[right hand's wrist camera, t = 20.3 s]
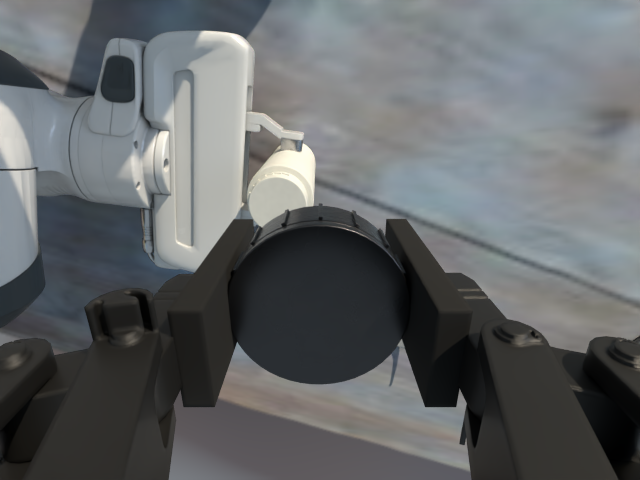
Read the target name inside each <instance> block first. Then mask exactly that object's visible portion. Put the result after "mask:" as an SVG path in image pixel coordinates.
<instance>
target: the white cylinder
mask: <svg viewBox="0 0 640 480" xmlns="http://www.w3.org/2000/svg"><path fill="white" fill-rule="evenodd" d="M280 147H281V145H280V146H279V147H278V148H277V149H276V150H275V151H274V153H273V154H272V155H271V156H270V157H269V159H268V160H267V161H266V162H265V163H264V165H263V166H262V167H261V168H260V170H259V171H258V172H257V173H256V174H255V176H254V177H253V178H252V180H251V181H250V183H249V186H248V189H247V204H248V210H249V212H250V215H251V217H252V219H253V220H254V221H255V223H256V224H257V225H258V226H261V227H263V226H264V225H265V224H267V223H268V222H269V221H271V220H272V219H274V218H275V217H277V216H279V215H281V214H283V213H284V212H285V210H287V209H289V211H291V210H294V209H298V208H302V207H310V206H313V203H314V182H315V158H314V155H313V153H312V151H311V150H310V149H309V148H308V147H307V146H306V145H305V144H303V146H302V151H301V152H296V151H293V150H292V149H290V150H281V149H280Z"/></svg>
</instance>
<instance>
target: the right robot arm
mask: <svg viewBox="0 0 640 480" xmlns="http://www.w3.org/2000/svg"><path fill="white" fill-rule="evenodd" d="M253 237H254V222H253V219H233V221H232V222H231V223H230V225H229V226H228V228H227V229H226V230H225V232H224V233H223V234H222V236H221V237H220V238H219V240H218V241H217V243H216V244H215V245H214V247H213V248H212V249H211V251H210V252H209V254H208V255H207V256H206V258H205V259H204V260H203V262H202V263H201V265H200V266H199V267H198V269H197V270H196V271H195V273H194V274H179V275H177V276H175V277H173V278H172V279H170V280H168V281H167V282H165V284H164V285H163V286H162V287H161V288H160V290H159V291H158V293H156V294H155V295H154V297H153V294H152V293H151V292H149V291H148V290H145V289H140V288H128V289H121V290H116V291H112V292H109V293H106V294H104V295H101V296H99V297H97V298H95V299H94V300H92V301H90V302H89V303H88V304H87V305H86V306H85V307H84V308H85V312H86V315H87V319H88V323H89V326H90V330H91V334H92V338H93V342H92V344H91V346H90V348H88V349H84V350H80V351H74V352H69V353H64V354H59V355H54V353H53V350H52V347H51V344H50V343H49V342H48V341H46V340H45V339H38V338H31V339H20V340H16V341H14V342H9V343H5V344H3V345H2V346H0V480H168V479H169V472H170V464H171V456H172V448H173V440H174V432H175V424H176V417H175V411H174V405H173V404H174V402H175V400H176V397H177V396H178V394H179V391H180V389H181V395H182V401H183V406H184V407H215V404H216V402H217V399H218V396H219V393H220V390H221V387H222V384H223V381H224V378H225V375H226V372H227V370H228V367H229V364H230V361H231V358H232V355H233V352H234V349H235V346H236V343H237V340H236V338H235V337H234V335H233V332H232V330H231V323H230V314H229V304H228V289H229V284H230V281H231V279H232V276H233V274H234V273H233V272H232V270H233V268H234V266H235V264H236V262H237V260H238V258H239V256H240V254H241V252H242V251H243V252H245V250H246V248H247V246H248V244H249V243H250V241H251V239H252V238H253ZM385 238H386V240H387V242H388V243H389V245H390V247H391V249H392V251H393V253H394V255H396V254H397V256H398V258H399V260H400V262H401V264H402V266H403V268H404V270H405V272H406V276H405V278H406V281H407V284H408V287H409V293H410V304H411V308H410V316H409V321H408V324H407V328H406V330H405V333H404V335H403V337H402V341H403V344H404V347H405V350H406V353H407V356H408V359H409V361H410V364H411V367H412V370H413V373H414V376H415V379H416V382H417V385H418V388H419V391H420V393H421V396H422V399H423V402H424V405H425V407H456V405H457V399H458V394H459V388H460V390H461V392H462V394H463V396H464V398H465V400H466V402H467V405H466V411H465V416H464V421H463V427H462V432H461V437H460V444H462V445H465V440H466V439H467V447H468V455H469V463H470V471H471V478H472V480H640V337H639V338H638V339H636V340H635V341H631V340H626V339H624V338H615V337H607V336H605V337H597V338H594V339H593V340H591V341H590V343H589V346H588V349H587V352H586V354H585V353H580V352H574V351H569V350H564V349H558V348H554V347H550V346H549V344H548V342H547V340H546V339H545V338H544V336H543V335H542V334H541V333H540V332H538V331H537V330H535V329H534V328H532V327H531V326H528V325H526V324H523V323H521V322H518V321H513V320H509V319H506V317H505V316H504V315H503V314H502V313H501V312H500V310H499V309H498V308H497V307H496V306H495V305H494V303H493V302H492V301H491V300H490V299H488V296H487V295H486V294H485V293H484V292H483V291H482V289H481V288H480V287H479V286H478V285H477V284H476V282H475V281H474V280H472V279H470V278H469V277H467V276H465V275H463V274H462V273H445V272H444V270H443V269H442V268H441V266H440V265H439V263H438V262H437V261H436V259H435V258H434V257H433V255H432V254H431V253H430V251H429V250H428V248H427V247H426V246H425V244H424V243H423V242H422V240H421V239H420V237H419V236H418V235H417V233H416V232H415V231H414V229H413V228H412V226H411V225H410V224H409V222H408V221H407V220H406V219H386V234H385Z"/></svg>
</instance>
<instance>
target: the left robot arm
mask: <svg viewBox="0 0 640 480" xmlns="http://www.w3.org/2000/svg"><path fill="white" fill-rule="evenodd" d="M254 62H255V52H254V50H253V48H252V47H251V46H250V44H249V43H248V42H247V41H246V40H245V39H244V38H243V37H242V36H240V35H237V34H234V33H227V32H218V31H192V30H191V31H171V32H165V33H162V34H159V35H157V36H155V37H154V38H152V39H151V40H150V41H149V43H147V42H144V41H140V40H136V39H129V38H113V39H111V40H110V41H109V42H108V44H107V46H106V50H105V54H104V58H103V63H102V67H101V72H100V76H99V80H98V84H97V88H96V92H95V95H94V96H85V97H77V98H73V97H67V96H64V95H61V94H59V93H57V92H55V91H52V90H49V88H48V87H47V86H46V85H45V84H44V83H43V81H41V80H40V79H39V78H38V77H37V76H36V75H35V74H34V73H32V72H31V71H30V70H29V69H28V68H26V67H25V66H24V65H23V64H22V63H20V62H19V61H18V60H17V59H16V58H14V57H13V56H11V55H9V54H8V53H6V52H4V51H2V50H0V328H1V327H3V326H5V325H6V324H8V323H9V322H11V321H12V320H13V319H15V318H16V317H17V316H19V315H20V314H21V313H22V312H23V311H24V310H25V309H26V308H27V307H28V306H29V305H30V304H31V303H32V302H33V301H34V300H35V299H36V298H37V297H38V296H39V295H40V294H41V292H42V291H43V289H44V287H45V278H44V270H43V263H42V255H41V248H40V244H39V242H38V226H37V196H48V197H51V196H59V195H74V196H77V197H80V198H82V199H84V200H87V201H91V202H96V203H104V204H113V205H121V206H129V207H138V208H140V213H141V226H142V230H143V238H142V246H143V250H144V252H145V253H148V256H149V258H150V259H151V260H152V262H153V263H155V265H156V266H158V267H161V268H167V269H183V270H186V271H190V272H194V273H195V271H196V270H197V269H198V267H199V266H200V265H201V263H202V262H203V260H204V259H205V258H206V256H207V255H208V254H209V252H210V251H211V249H212V248H213V247H214V245H215V244H216V243H217V241H218V240H219V238H220V237H221V236H222V234H223V233H224V232H225V230H226V229H227V228H228V226H229V225H230V223H231V222H232V221H233V219H252V217H251V215H250V212H249V210H248V204H247V188H248V170H249V152H250V134H251V131H253V132H260V131H261V130H263V129H264V128H266V129H267V130H268V131H270V132H271V133H272V134H274V135H275V136H277V137H278V138H279V139H281V147H280V149H281V150H290V149H292V150H293V151H296V152H301V151H302V146H303V138H304V133H303V132H297V131H290V130H283V127H281V126H280V125H279V124H278V123H276V122H275V121H274V120H272V119H271V118H270V117H269V116H267V115H266V114H264V113H256V112H252V98H253V80H254ZM253 222H254V226H256V225H257V224H256V223H255V221H254V220H253ZM153 252H154V255H153Z"/></svg>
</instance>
